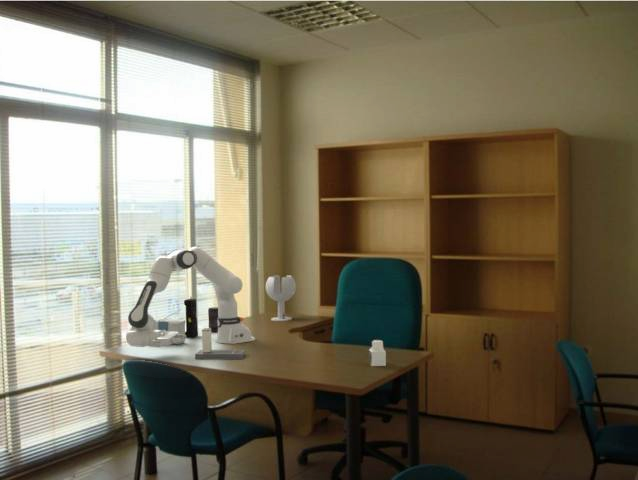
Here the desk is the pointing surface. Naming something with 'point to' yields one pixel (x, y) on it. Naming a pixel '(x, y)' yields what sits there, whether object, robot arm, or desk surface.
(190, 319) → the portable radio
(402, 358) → the desk surface
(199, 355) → the mixing console
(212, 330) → the camera lens
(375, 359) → the medicine bottle
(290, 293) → the stemmed glass
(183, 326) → the stereo radio cassette player
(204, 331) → the fader knob
